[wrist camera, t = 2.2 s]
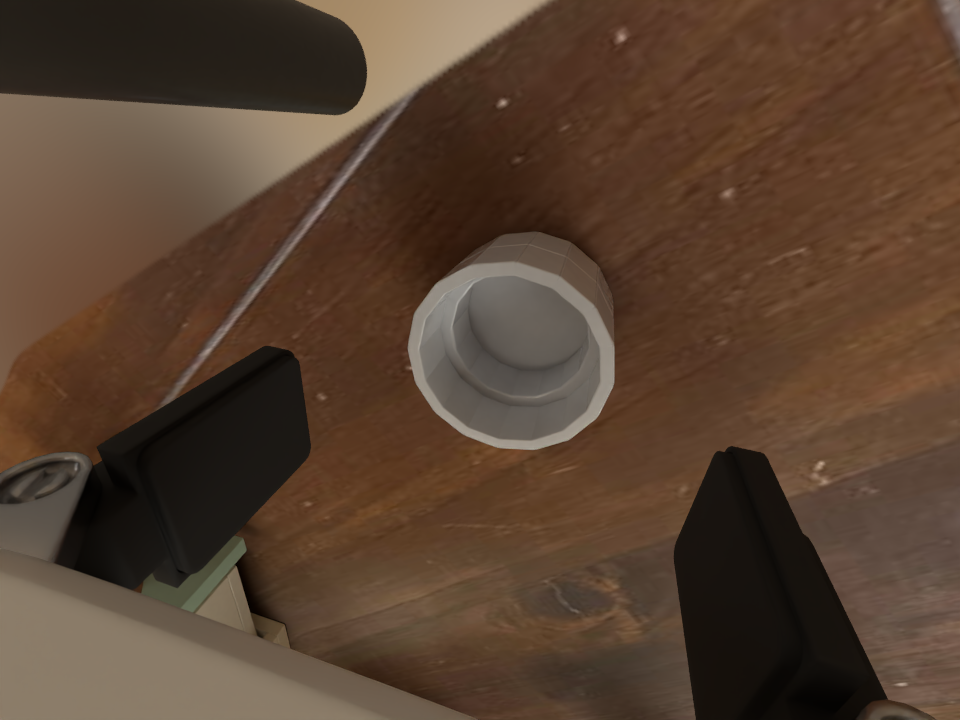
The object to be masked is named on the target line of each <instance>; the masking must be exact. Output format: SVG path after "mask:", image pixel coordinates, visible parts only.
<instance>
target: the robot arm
mask: <svg viewBox="0 0 960 720" xmlns="http://www.w3.org/2000/svg"><path fill="white" fill-rule="evenodd" d="M97 449H98V451H99V454H100V456H101V458H102V461H101V462H99V463H98V464H96V465H95V466H93V464H92V462H91V460H90V459H89V457H88V456H86V455H84V454H81V453H77V452H59V453H51V454H47V455H43V456H39V457H35V458H32V459H30V460H27V461H24V462H22V463H19V464H17V465H15V466H13V467H11V468H9V469H7V470H5V471H3V472H2V473H0V720H479V719H476V718H474V717H471V716H468V715H466V714H463V713H460V712H458V711H455V710H453V709H450V708H447V707H445V706H442V705H439V704H437V703H434V702H431V701H429V700H426V699H424V698H421V697H418V696H416V695H413V694H410V693H408V692H405V691H402V690H400V689H397V688H394V687H392V686H389V685H386V684H384V683H381V682H378V681H376V680H373V679H370V678H368V677H365V676H362V675H360V674H357V673H354V672H352V671H349V670H346V669H344V668H341V667H338V666H336V665H333V664H330V663H327V662H325V661H322V660H319V659H317V658H314V657H311V656H309V655H306V654H303V653H301V652H298V651H295V650H293V649H290V648H287V647H285V646H282V645H279V644H276V643H274V642H271V641H268V640H266V639H263V638H260V637H258V636H255V635H252V634H250V633H247V632H244V631H242V630H239V629H236V628H233V627H231V626H228V625H225V624H222V623H220V622H217V621H214V620H212V619H209V618H206V617H203V616H201V615H198V614H195V613H192V612H190V611H187V610H184V609H182V608H179V607H176V606H173V605H171V604H168V603H165V602H162V601H160V600H157V599H154V598H151V597H149V596H146V595H143V594H141V592H142V587H143V581H144V580H145V579H146V578H147V577H148V576H149V575H150V574H153V576H154V578H155V580H156V581H158V582H161V583H164V584H167V585H169V586H172V587H175V588H178V587H179V586H180V585H181V584H182V583H183V582H184V581H185V580H186V579H187V578H188V577H189V576H190V575H191V574H195V573H197V572H199V571H200V570H201V569H203V568H204V567H205V566H206V565H207V563H208V562H209V561H210V560H211V559H212V558H213V557H214V556H215V555H216V554H217V553H218V552H219V551H220V550H221V549H222V548H223V547H224V546H225V545H226V544H227V542H228V541H229V540H230V539H231V538H232V537H233V536H234V535H235V534H236V533H237V532H238V531H239V530H240V529H241V528H242V527H243V526H244V525H245V524H246V523H247V521H248V520H249V519H250V518H251V517H252V516H253V515H254V514H255V513H256V512H257V511H258V510H259V509H260V508H261V507H262V506H263V505H264V504H265V503H266V502H267V500H268V499H269V498H270V497H271V496H272V495H273V494H274V493H275V492H276V491H277V490H278V489H279V488H280V487H281V486H282V485H283V484H284V483H285V482H286V481H287V479H288V478H289V477H290V476H291V475H292V474H293V473H294V472H295V471H296V470H297V469H298V468H299V467H300V466H301V465H302V464H303V463H304V462H305V460H306V459H307V458H308V456H309V453H310V449H311V443H310V436H309V429H308V422H307V415H306V407H305V400H304V393H303V386H302V379H301V371H300V364H299V361H298V360H297V359H296V358H295V357H294V355H293V353H292V352H291V351H289V350H285V349H281V348H276V347H271V346H264V347H262V348H260V349H259V350H257V351H255V352H254V353H252V354H250V355H249V356H247V357H245V358H244V359H242V360H240V361H239V362H237V363H235V364H234V365H232V366H230V367H229V368H227V369H225V370H224V371H222V372H220V373H219V374H217V375H215V376H214V377H212V378H210V379H209V380H207V381H205V382H204V383H202V384H200V385H199V386H197V387H195V388H194V389H192V390H190V391H189V392H187V393H185V394H184V395H182V396H180V397H179V398H177V399H175V400H174V401H172V402H170V403H169V404H167V405H165V406H164V407H162V408H160V409H159V410H157V411H155V412H154V413H152V414H150V415H149V416H147V417H145V418H144V419H142V420H140V421H139V422H137V423H135V424H134V425H132V426H130V427H129V428H127V429H125V430H124V431H122V432H120V433H119V434H117V435H115V436H114V437H112V438H110V439H109V440H107V441H105V442H104V443H102V444H100V445H99V446H97ZM674 564H675V572H676V579H677V586H678V593H679V600H680V608H681V615H682V622H683V629H684V636H685V644H686V651H687V658H688V665H689V672H690V680H691V687H692V694H693V701H694V708H695V716H696V720H936V719H935V718H933V717H932V716H930V715H929V714H927V713H924V712H922V711H920V710H918V709H916V708H914V707H912V706H910V705H908V704H904V703H900V702H896V701H891V700H888V699H887V696H886V694H885V692H884V690H883V688H882V686H881V684H880V682H879V680H878V678H877V676H876V674H875V672H874V670H873V668H872V665H871V663H870V661H869V659H868V657H867V655H866V653H865V651H864V649H863V647H862V645H861V643H860V641H859V639H858V637H857V634H856V632H855V630H854V628H853V626H852V624H851V622H850V620H849V618H848V616H847V614H846V612H845V610H844V608H843V606H842V604H841V601H840V599H839V597H838V595H837V593H836V591H835V589H834V587H833V585H832V583H831V581H830V579H829V577H828V575H827V573H826V570H825V568H824V566H823V564H822V562H821V560H820V558H819V556H818V554H817V552H816V550H815V548H814V546H813V544H812V543H811V541H810V540H809V538H808V537H807V536H805V535H804V534H803V533H802V531H801V529H800V527H799V525H798V522H797V520H796V518H795V516H794V514H793V512H792V510H791V508H790V505H789V503H788V501H787V499H786V497H785V495H784V493H783V491H782V489H781V486H780V484H779V482H778V480H777V478H776V476H775V474H774V472H773V469H772V467H771V465H770V463H769V461H768V459H767V457H766V456H765V454H763V453H761V452H756V451H752V450H747V449H742V448H738V447H733V446H731V447H728V448H727V449H726V451H725V452H721V451H717V452H716V453H715V454H714V456H713V458H712V461H711V463H710V465H709V468H708V470H707V472H706V475H705V477H704V479H703V481H702V484H701V486H700V488H699V491H698V493H697V495H696V498H695V500H694V502H693V504H692V507H691V509H690V511H689V514H688V516H687V518H686V521H685V523H684V525H683V527H682V530H681V532H680V534H679V537H678V539H677V541H676V544H675V549H674Z"/></svg>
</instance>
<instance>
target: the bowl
mask: <svg viewBox="0 0 960 720" xmlns="http://www.w3.org/2000/svg"><path fill="white" fill-rule="evenodd" d="M408 353H409V357H410V362H411V366H412V371H413V375H414V379H415V382H416V385H417V386H418V388H419V389H420V391H421V392H422V394H423V395H424V397H425V398H426V400H427V401H428V403H429V404H430V406H431V407H432V409H433V410H434V412H435V413H436V414H438V415H439V416H440V417H441V418H443V419H444V420H445V421H446V422H448V423H449V424H450V425H452V426H453V427H454V428H455V429H457V430H458V431H459V432H460V433H462V434H464V435H465V436H468V437H470V438H473V439H476V440H478V441H481V442H483V443H486V444H489V445H491V446H494V447H498V448H507V449H525V450H534V449H535V450H536V449H540V448H543V447H547V446H550V445H553V444H557V443H560V442H564V441H567V440H569V439H571V438H572V437H574V436H575V435H576V434H577V433H579V432H580V431H581V430H582V429H584V428H585V427H586V426H587V425H589V424H590V423H591V422H593V421H594V420H595V419H596V418H597V417H598V416H599V414H600V412H601V410H602V408H603V406H604V404H605V402H606V400H607V398H608V396H609V394H610V392H611V390H612V388H613V386H614V383H615V352H614V304H613V295H612V293H611V291H610V289H609V287H608V285H607V283H606V280H605V278H604V276H603V274H602V272H601V270H600V268H599V267H598V265H597V264H596V263H595V262H594V261H592V260H591V259H590V258H589V257H588V256H587V255H586V254H584V253H583V252H582V251H581V250H580V249H579V248H578V247H576V246H575V245H574V244H571V242H569V241H566V240H563V239H560V238H557V237H553V236H550V235H547V234H544V233H541V232H525V233H514V234H504V235H503V236H499V237H497V238H496V239H494V240H492V241H490V242H488V243H486V244H485V245H483V246H481V247H479V248H477V249H476V250H474V251H473V252H472V253H471V254H470V255H468V256H467V257H466V258H465V259H464V260H463V261H462V262H460V263H459V264H458V265H457V266H455V267H454V268H453V269H452V270H451V271H450V272H449V273H447V274H446V275H445V276H444V277H443V278H442V279H440V280H439V281H438V282H437V283H436V284H435V285H434V286H433V288H432V289H431V290H430V292H429V293H428V294H427V296H426V297H425V299H424V300H423V301H422V303H421V304H420V305H419V307H418V308H417V309H416V311H415V313H414V315H413V321H412V326H411V331H410V337H409V342H408Z"/></svg>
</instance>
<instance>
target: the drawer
mask: <svg viewBox="0 0 960 720" xmlns="http://www.w3.org/2000/svg"><path fill="white" fill-rule="evenodd" d="M245 552H246V546H245V542H244V539H243V538H241V537H238V536H235V535H234V536H233V537H232V538H231V539H230V540H229V541H228V542H227V544H226V545H225V546H224V547H223V548H222V549H221V550H220V551H219V552H218V553H217V554H216V555H215V556H214V557H213V558H212V559H211V560H210V561H209V562H208V563H207V565H206V566H205V567H204V568H203V569H201V570H200V571H199V572H197V573H195V574H191V575H190V576H189V577H188V578H187V579H186V580H185V581H184V582H183V583H182V584H181V585H180V586H179V587H178V588H175V587H172V586H169V585H167V584H164V583H161V582H158V581H156V580H155V578H154V576H153V574H150V575H149V576H148V577H147V578H146V579H145V580H144V581H143V587H142V592H141V594H143V595H146V596H149V597H151V598H154V599H157V600H160V601H162V602H165V603H168V604H171V605H173V606H176V607H179V608H182V609H184V610H187V611H190V612H192V613H195V614H198V615H201V616H203V617H206V618H209V619H212V620H214V621H217V622H220V623H222V624H225V625H228V626H231V627H233V628H236V629H239V630H242V631H244V632H247V633H250V634H252V635H255V636H257V633H256V630H255V626H254V623H253V620H252V616H251V613H250V610H249V606H248V603H247V600H246V596H245V593H244V590H243V586H242V583H241V579H240V576H239V573H238V569H237V566H235V565H234V564H235V563H236V562H237V561H238V560H239V559H240V558H241V556H242V555H243V554H244V553H245Z"/></svg>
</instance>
